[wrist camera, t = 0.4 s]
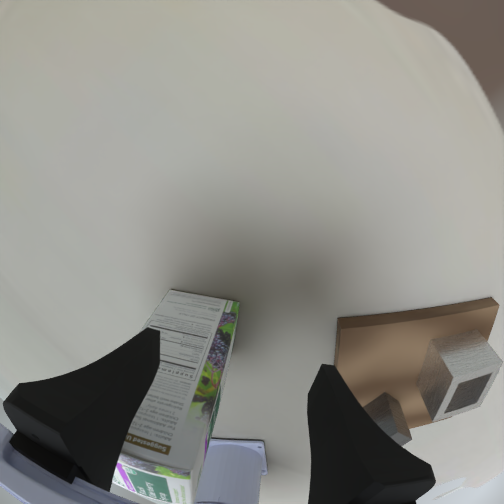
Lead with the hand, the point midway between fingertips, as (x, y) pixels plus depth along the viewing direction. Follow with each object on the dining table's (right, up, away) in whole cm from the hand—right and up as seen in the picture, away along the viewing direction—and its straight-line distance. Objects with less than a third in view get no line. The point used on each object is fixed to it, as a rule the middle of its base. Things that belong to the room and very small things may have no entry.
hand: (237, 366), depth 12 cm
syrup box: (-4, -1, +11) cm, 12 cm away
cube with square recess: (+19, -5, +9) cm, 21 cm away
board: (+16, -7, +12) cm, 21 cm away
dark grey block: (+13, -10, +12) cm, 20 cm away
